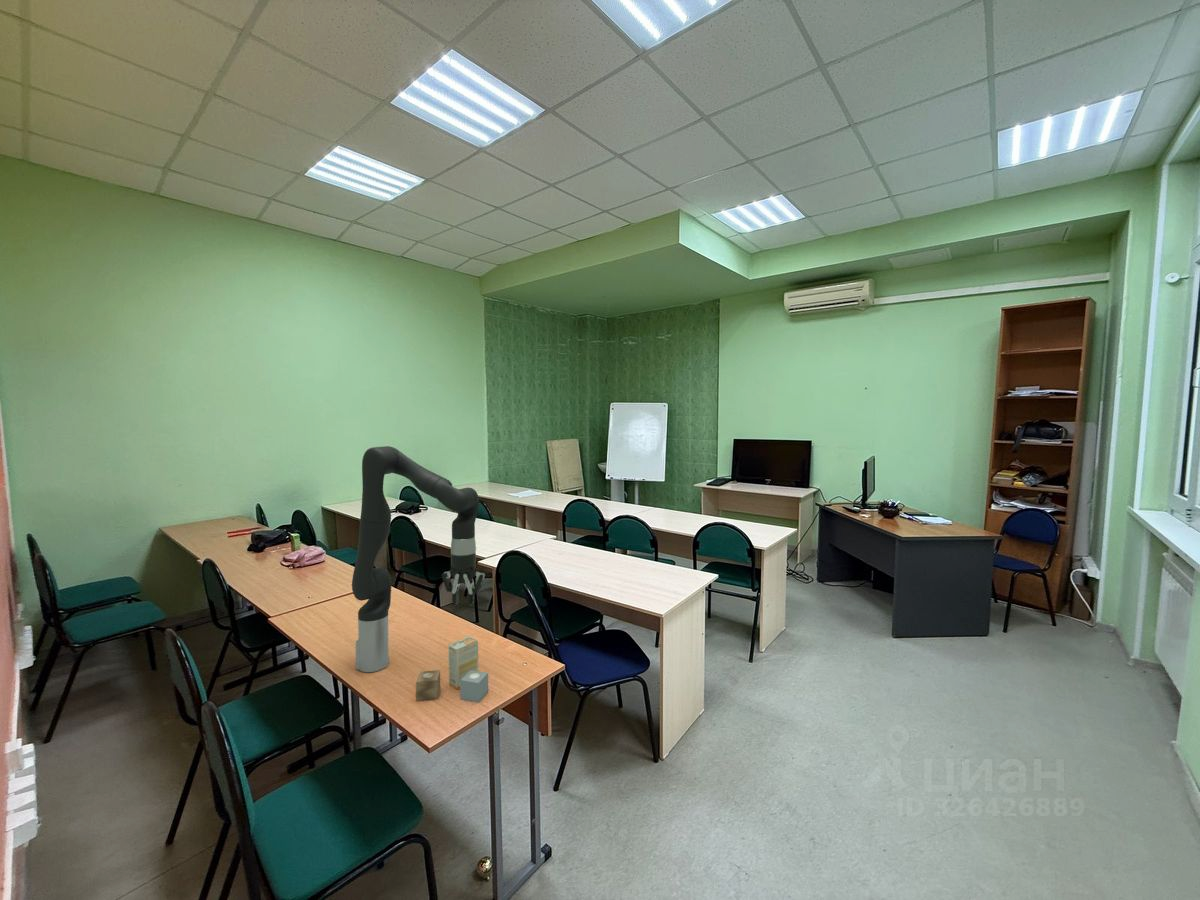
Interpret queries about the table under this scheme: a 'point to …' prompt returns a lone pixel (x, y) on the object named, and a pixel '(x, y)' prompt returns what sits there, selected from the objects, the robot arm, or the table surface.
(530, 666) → the table surface
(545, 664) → the table surface
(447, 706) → the table surface
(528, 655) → the table surface
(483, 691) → the slate block
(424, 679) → the walnut block
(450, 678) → the supplement box
